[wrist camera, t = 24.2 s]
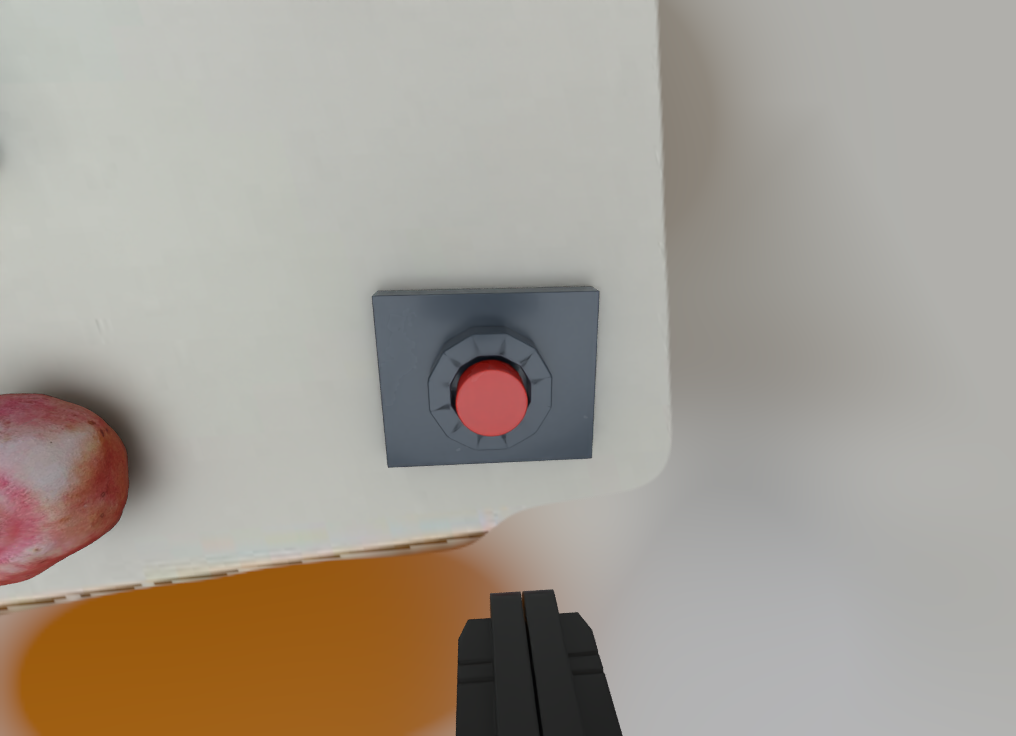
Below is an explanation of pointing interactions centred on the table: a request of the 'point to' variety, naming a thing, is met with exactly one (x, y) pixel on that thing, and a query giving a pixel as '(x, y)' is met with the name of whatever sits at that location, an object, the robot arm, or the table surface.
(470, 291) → the button box
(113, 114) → the table surface
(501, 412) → the button
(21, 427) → the fruit
